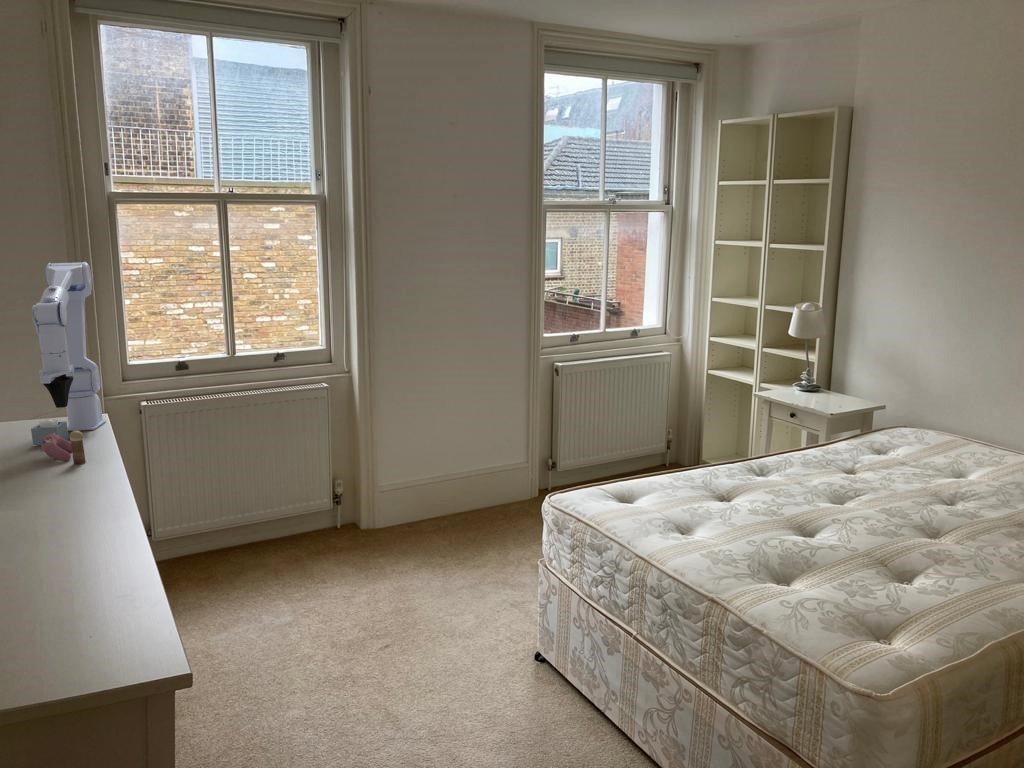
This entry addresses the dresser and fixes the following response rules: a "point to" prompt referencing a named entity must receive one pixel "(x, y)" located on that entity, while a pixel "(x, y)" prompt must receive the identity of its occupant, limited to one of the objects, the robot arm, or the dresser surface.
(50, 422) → the dome
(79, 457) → the post
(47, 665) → the dresser surface
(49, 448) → the video game controller
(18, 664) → the dresser surface
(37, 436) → the hollow square tube
